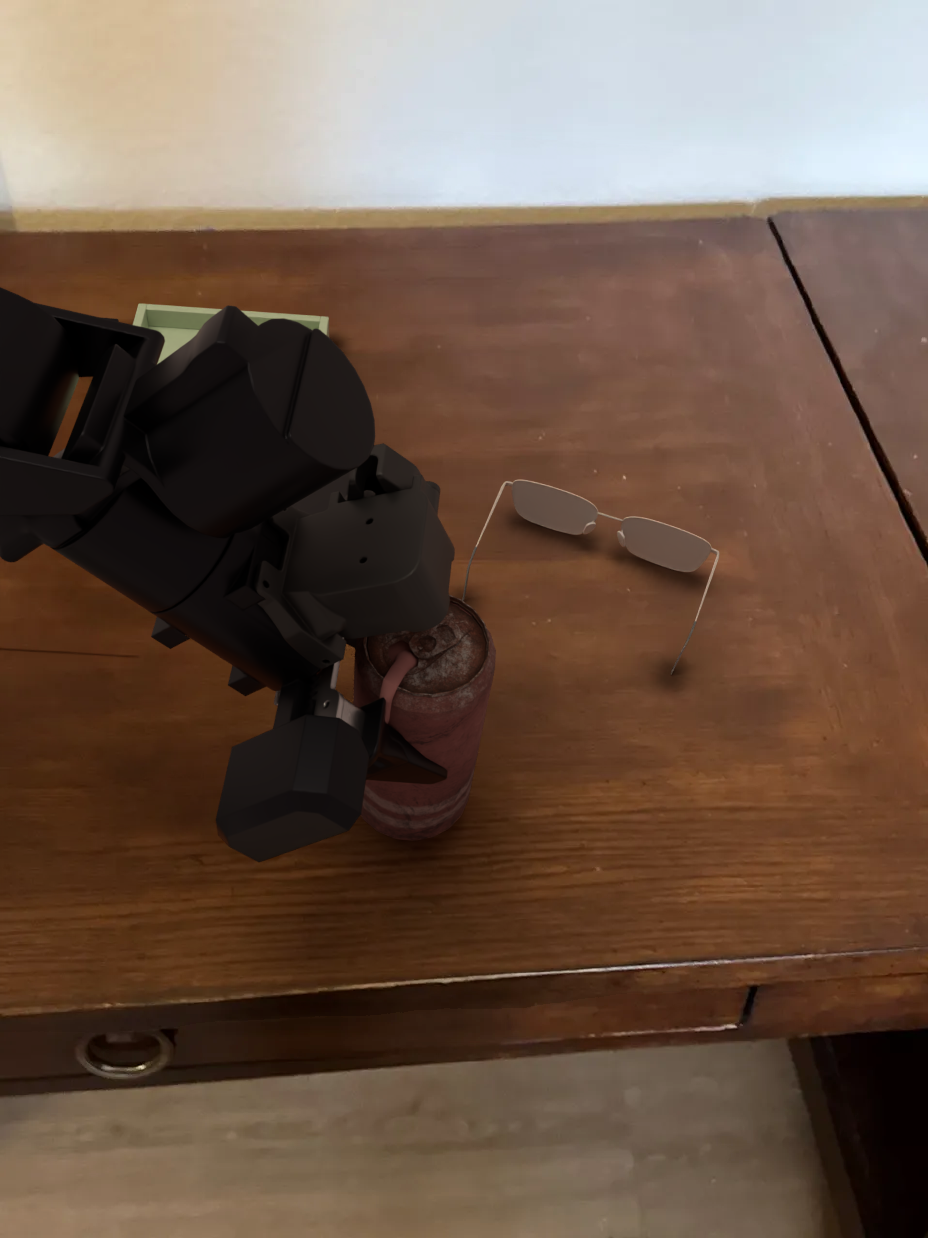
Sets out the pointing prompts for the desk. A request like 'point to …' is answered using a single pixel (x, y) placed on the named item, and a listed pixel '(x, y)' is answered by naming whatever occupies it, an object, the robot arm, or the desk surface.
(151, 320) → the tray
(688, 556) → the eyeglasses
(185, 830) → the desk surface
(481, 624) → the can
